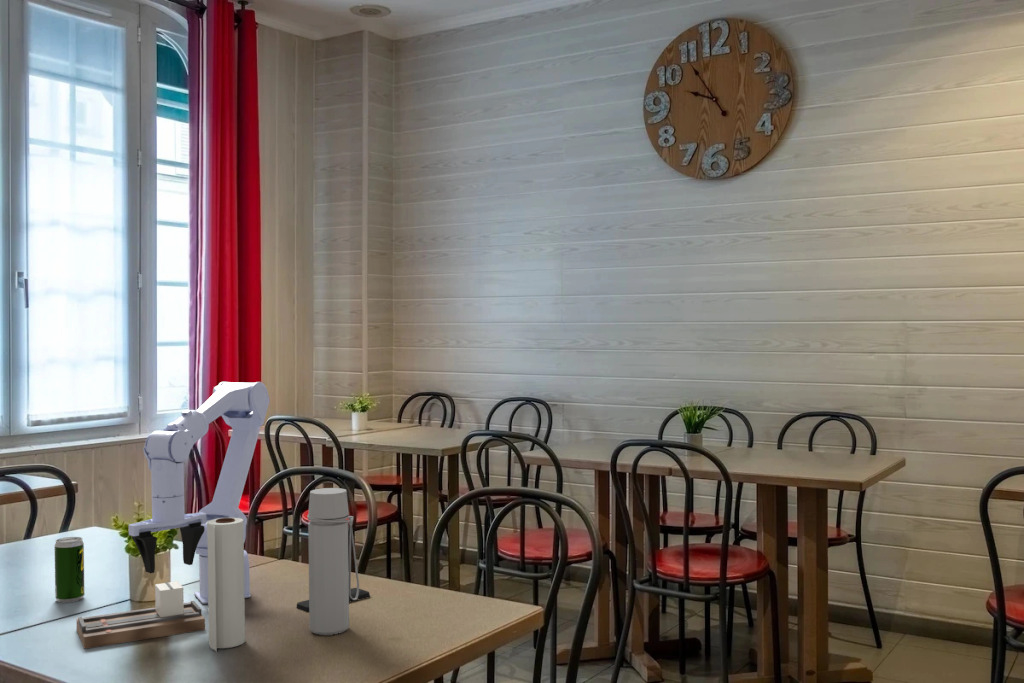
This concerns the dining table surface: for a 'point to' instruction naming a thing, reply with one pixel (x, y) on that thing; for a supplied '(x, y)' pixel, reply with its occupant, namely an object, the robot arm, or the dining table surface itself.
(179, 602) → the fader knob
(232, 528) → the paper towel roll
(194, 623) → the console
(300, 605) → the remote control
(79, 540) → the beer can
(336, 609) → the water bottle
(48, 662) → the dining table surface
